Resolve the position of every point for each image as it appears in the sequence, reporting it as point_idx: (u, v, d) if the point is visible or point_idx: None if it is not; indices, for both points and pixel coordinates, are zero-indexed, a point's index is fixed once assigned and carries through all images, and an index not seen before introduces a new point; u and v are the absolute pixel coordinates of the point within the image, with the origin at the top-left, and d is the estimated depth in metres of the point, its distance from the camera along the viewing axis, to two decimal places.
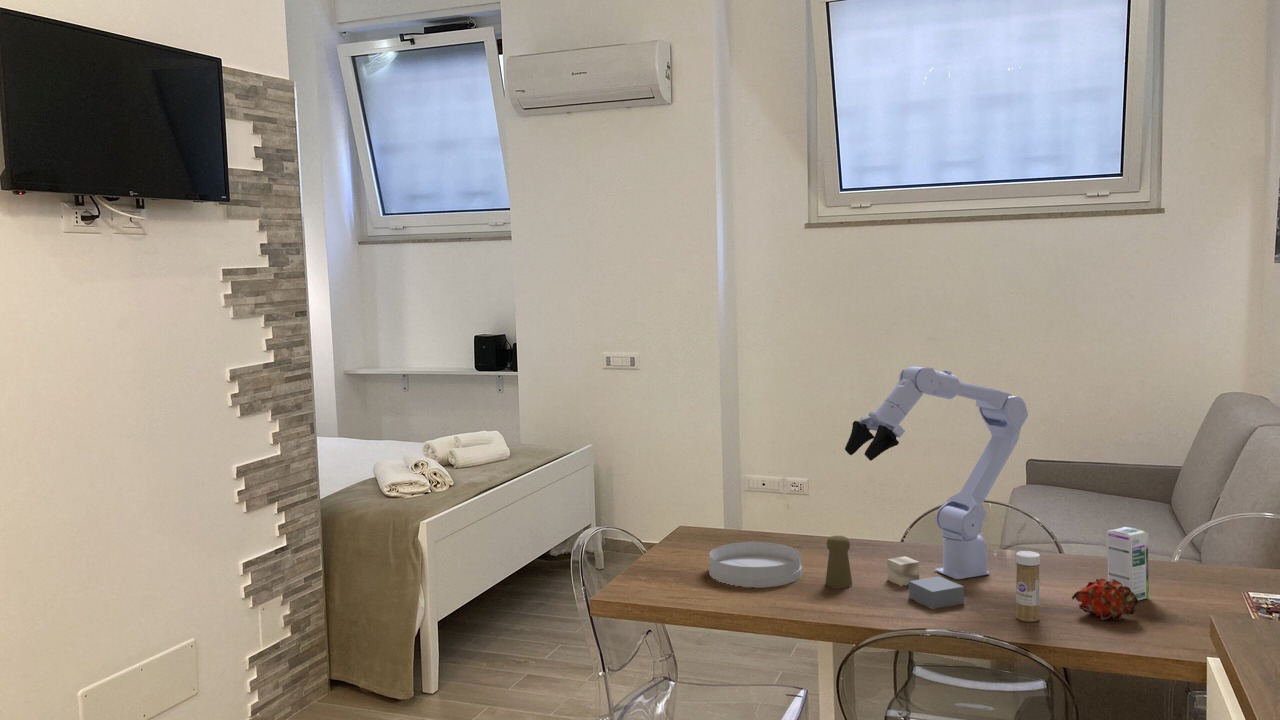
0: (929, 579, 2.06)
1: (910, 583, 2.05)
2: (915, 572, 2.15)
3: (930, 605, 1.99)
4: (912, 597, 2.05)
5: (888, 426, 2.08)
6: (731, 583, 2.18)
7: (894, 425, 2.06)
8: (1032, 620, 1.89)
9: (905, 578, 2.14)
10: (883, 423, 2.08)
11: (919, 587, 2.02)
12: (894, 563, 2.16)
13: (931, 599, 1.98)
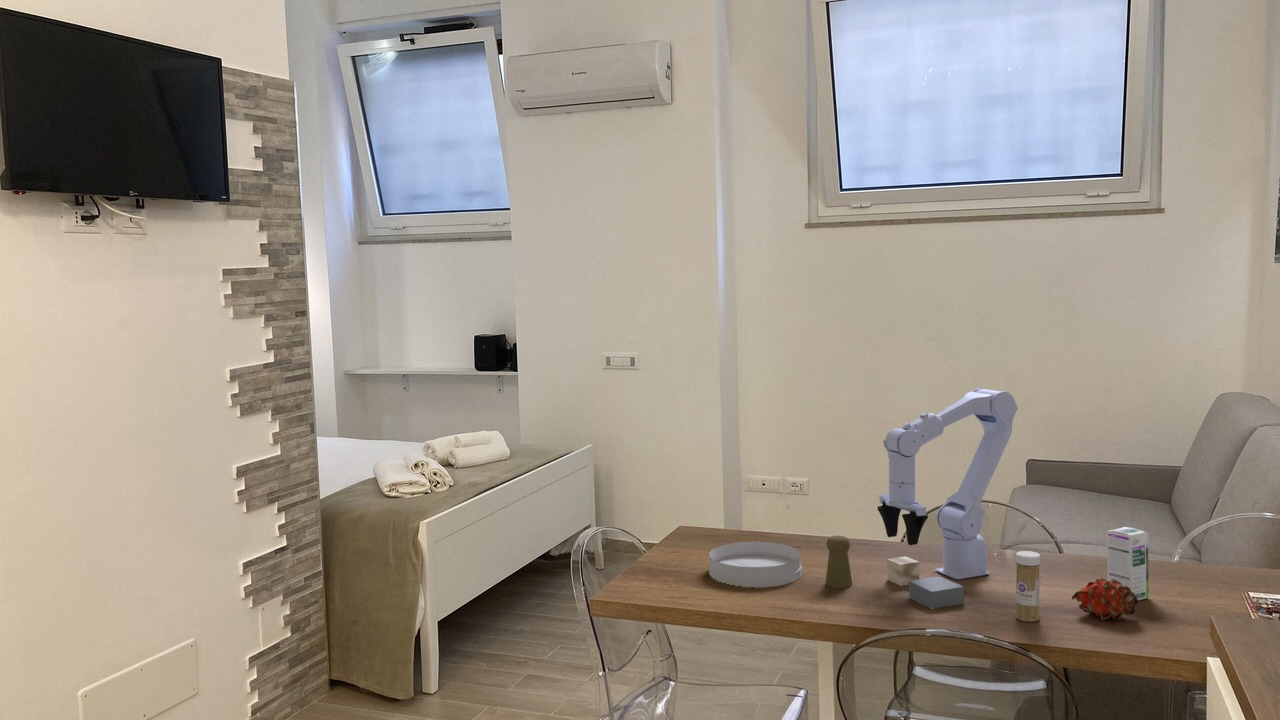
0: (929, 579, 2.06)
1: (910, 583, 2.05)
2: (915, 572, 2.15)
3: (929, 605, 1.99)
4: (912, 597, 2.05)
5: None
6: (731, 583, 2.18)
7: (914, 508, 2.10)
8: (1032, 620, 1.89)
9: (905, 578, 2.14)
10: None
11: (919, 587, 2.02)
12: (894, 563, 2.16)
13: (931, 599, 1.98)
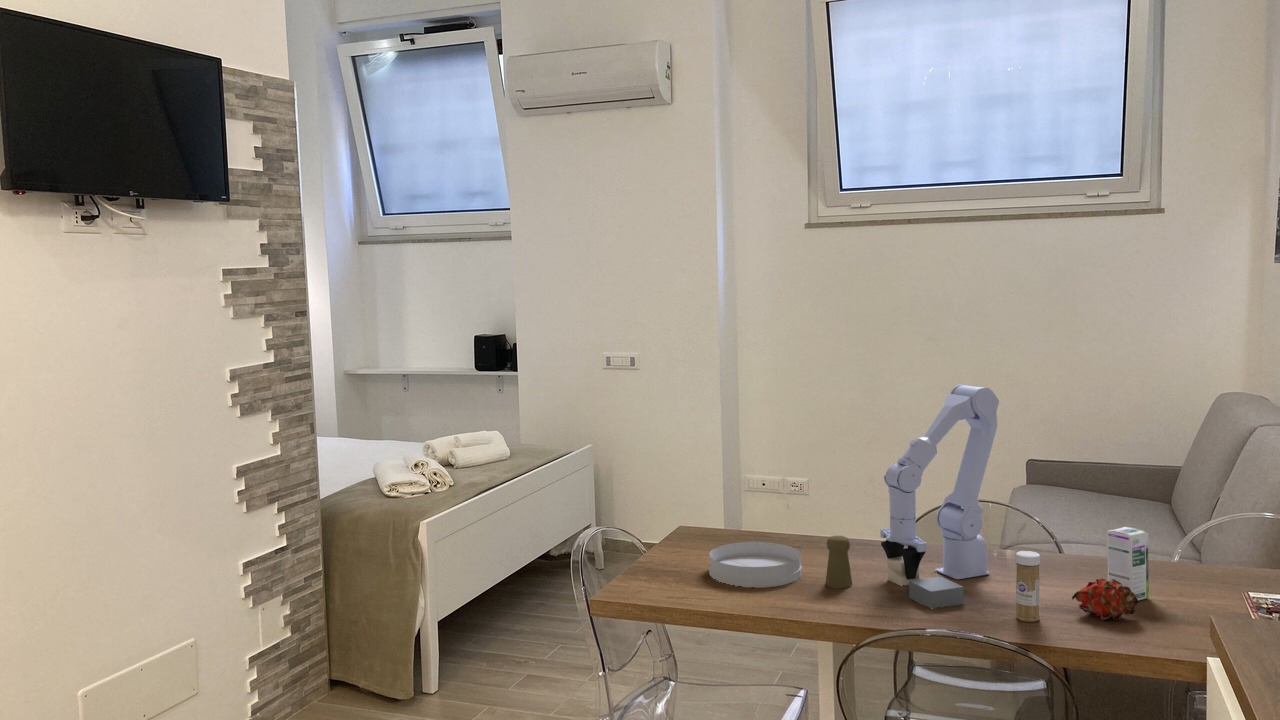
0: (930, 579, 2.06)
1: (910, 583, 2.05)
2: None
3: (929, 605, 1.99)
4: (912, 597, 2.05)
5: None
6: (731, 583, 2.18)
7: (915, 544, 2.10)
8: (1032, 620, 1.89)
9: (905, 578, 2.14)
10: None
11: (918, 587, 2.02)
12: (894, 563, 2.16)
13: (930, 599, 1.98)
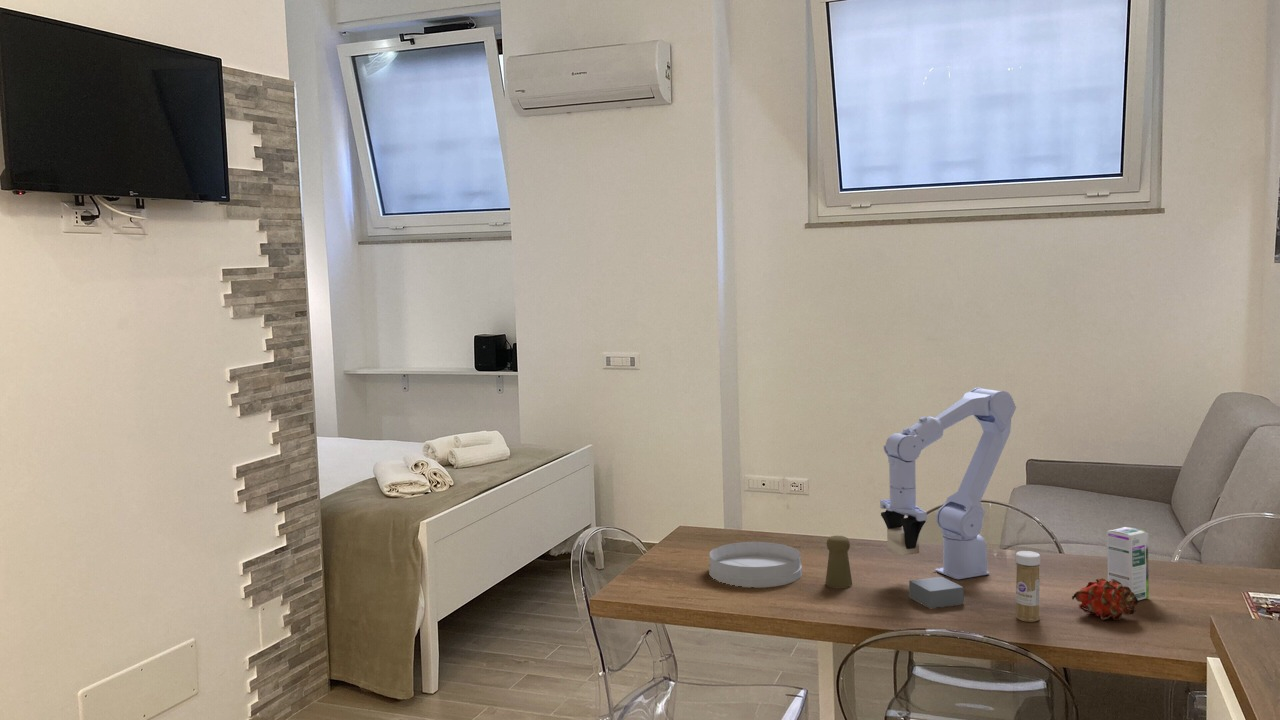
0: (930, 579, 2.06)
1: (910, 582, 2.05)
2: None
3: (928, 605, 1.99)
4: (912, 596, 2.05)
5: None
6: (731, 583, 2.18)
7: (915, 513, 2.10)
8: (1032, 620, 1.89)
9: (905, 548, 2.14)
10: None
11: (918, 586, 2.02)
12: (894, 533, 2.15)
13: (929, 599, 1.99)
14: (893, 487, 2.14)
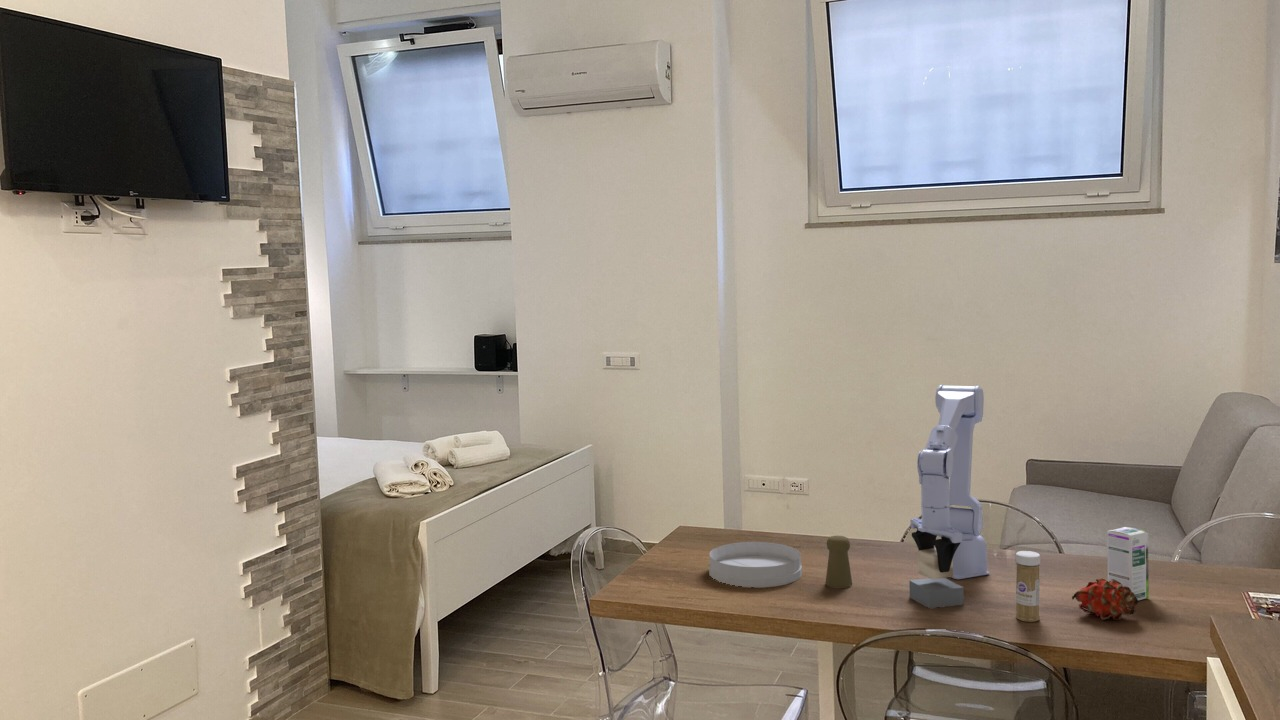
0: (930, 579, 2.06)
1: (910, 582, 2.05)
2: None
3: (927, 604, 1.99)
4: (912, 596, 2.05)
5: None
6: (731, 583, 2.18)
7: (949, 535, 1.96)
8: (1032, 620, 1.89)
9: (938, 571, 2.00)
10: None
11: (918, 586, 2.02)
12: (926, 555, 2.02)
13: (928, 599, 1.99)
14: (925, 506, 2.00)
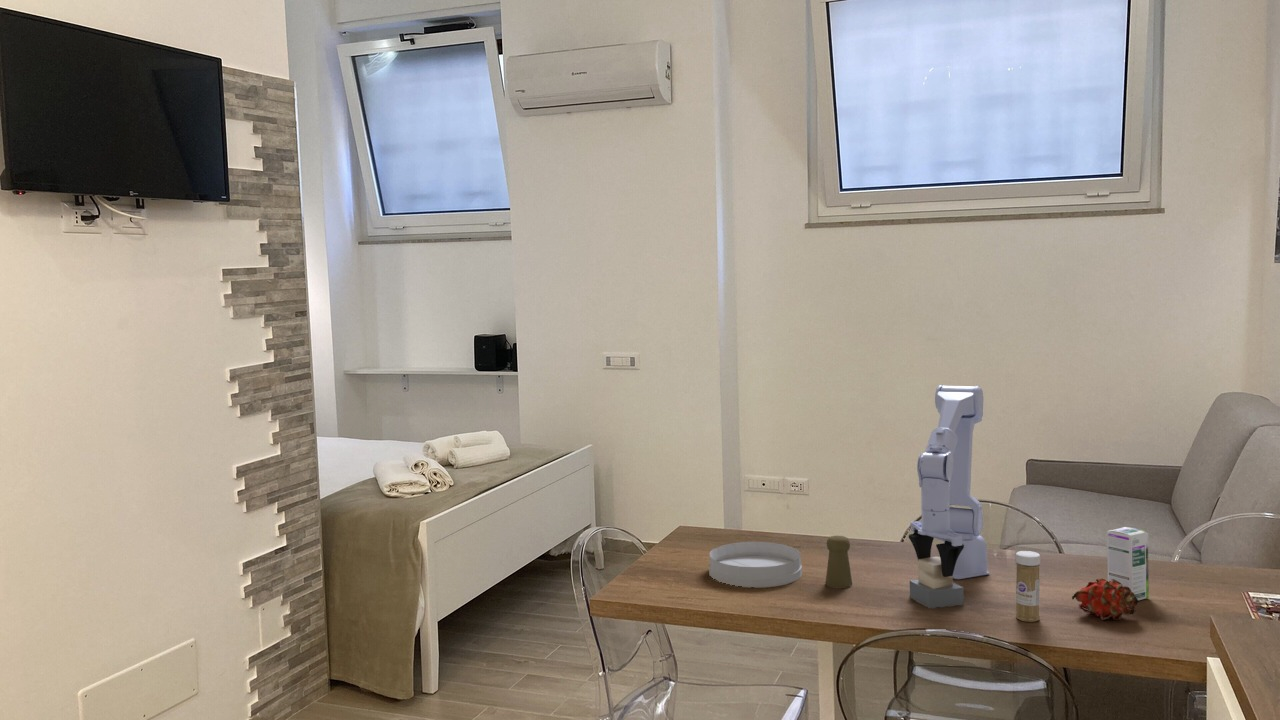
0: None
1: (911, 582, 2.05)
2: None
3: (927, 605, 1.99)
4: (912, 596, 2.05)
5: None
6: (731, 583, 2.18)
7: (949, 538, 1.96)
8: (1032, 620, 1.89)
9: (938, 580, 2.00)
10: None
11: (918, 586, 2.02)
12: (926, 564, 2.02)
13: (928, 599, 1.99)
14: (925, 509, 2.00)
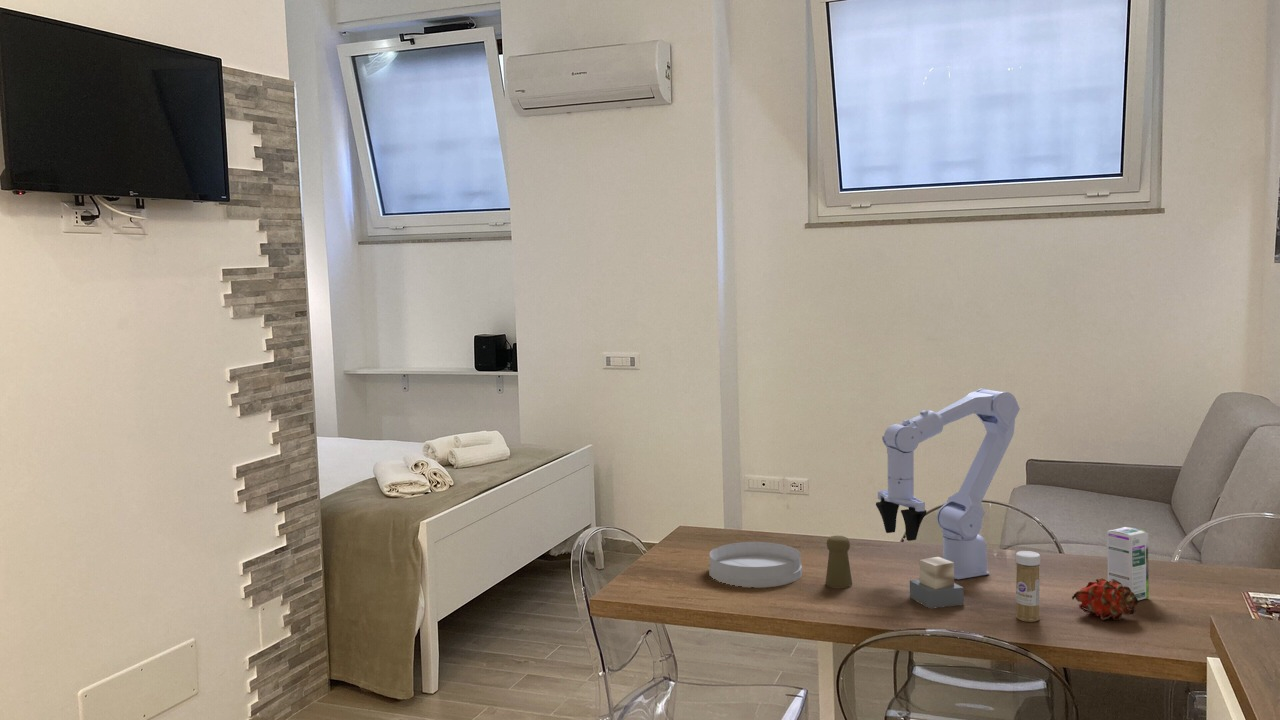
0: None
1: (911, 582, 2.06)
2: (950, 573, 2.01)
3: (927, 605, 1.99)
4: (912, 596, 2.05)
5: None
6: (731, 583, 2.18)
7: (913, 504, 2.10)
8: (1032, 620, 1.89)
9: (940, 580, 2.00)
10: None
11: (918, 586, 2.03)
12: (927, 564, 2.01)
13: (928, 599, 1.99)
14: (891, 478, 2.14)
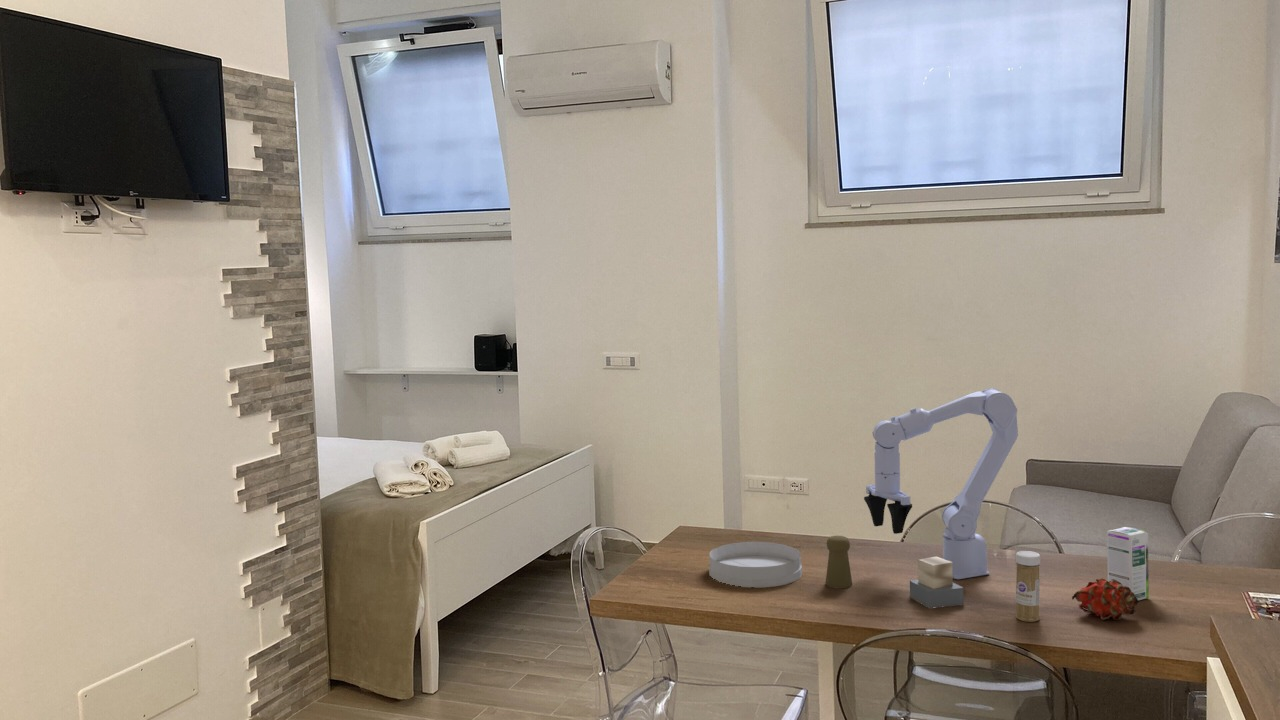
0: None
1: (911, 582, 2.06)
2: (948, 573, 2.01)
3: (927, 605, 1.99)
4: (912, 596, 2.05)
5: None
6: (731, 583, 2.18)
7: (899, 498, 2.17)
8: (1032, 620, 1.89)
9: (938, 580, 2.00)
10: None
11: (918, 586, 2.03)
12: (926, 564, 2.02)
13: (928, 599, 1.99)
14: (878, 472, 2.21)
